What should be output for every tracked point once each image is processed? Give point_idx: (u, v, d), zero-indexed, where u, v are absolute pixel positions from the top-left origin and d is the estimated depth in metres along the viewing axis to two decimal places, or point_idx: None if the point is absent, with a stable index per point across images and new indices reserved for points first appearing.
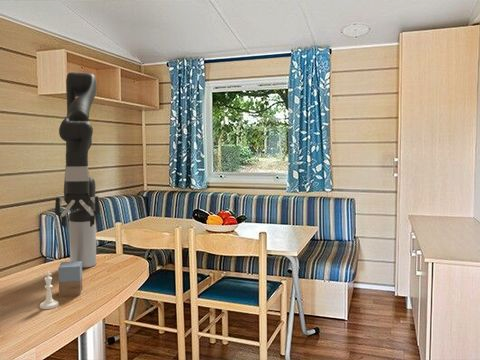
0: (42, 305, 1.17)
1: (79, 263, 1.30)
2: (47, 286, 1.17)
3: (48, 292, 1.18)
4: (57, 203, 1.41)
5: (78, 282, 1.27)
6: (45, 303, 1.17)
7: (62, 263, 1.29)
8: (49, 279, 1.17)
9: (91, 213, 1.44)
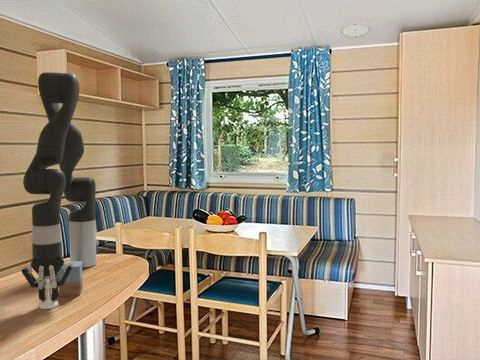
0: (42, 305, 1.17)
1: (79, 263, 1.29)
2: (47, 286, 1.17)
3: (48, 292, 1.18)
4: (26, 275, 1.15)
5: (78, 282, 1.27)
6: (45, 303, 1.17)
7: None
8: (49, 279, 1.17)
9: (53, 285, 1.17)
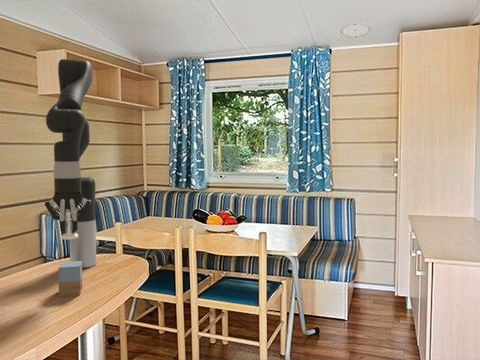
0: (63, 236, 1.26)
1: (79, 263, 1.30)
2: (67, 219, 1.27)
3: (68, 224, 1.27)
4: (49, 208, 1.25)
5: (78, 282, 1.27)
6: (66, 234, 1.27)
7: (62, 263, 1.29)
8: (69, 212, 1.27)
9: (73, 218, 1.27)
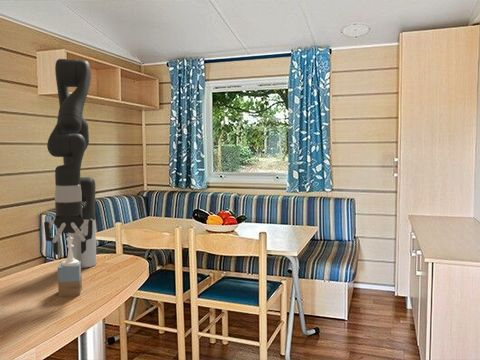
0: (64, 263, 1.27)
1: None
2: (69, 245, 1.27)
3: (69, 251, 1.28)
4: (46, 228, 1.25)
5: (78, 282, 1.27)
6: (67, 261, 1.27)
7: (61, 263, 1.29)
8: (70, 239, 1.27)
9: (82, 238, 1.28)
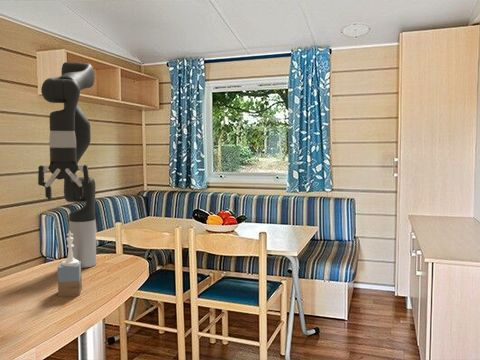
0: (64, 262, 1.27)
1: None
2: (69, 245, 1.27)
3: (70, 251, 1.28)
4: (40, 172, 1.25)
5: (78, 282, 1.27)
6: (67, 261, 1.27)
7: (61, 263, 1.29)
8: (71, 239, 1.27)
9: (79, 184, 1.29)
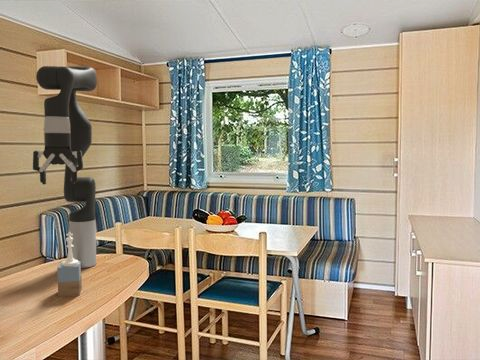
0: (64, 263, 1.27)
1: None
2: (68, 245, 1.27)
3: (69, 251, 1.28)
4: (35, 157, 1.28)
5: (77, 282, 1.27)
6: (67, 261, 1.27)
7: (61, 263, 1.29)
8: (70, 239, 1.27)
9: (73, 169, 1.31)
